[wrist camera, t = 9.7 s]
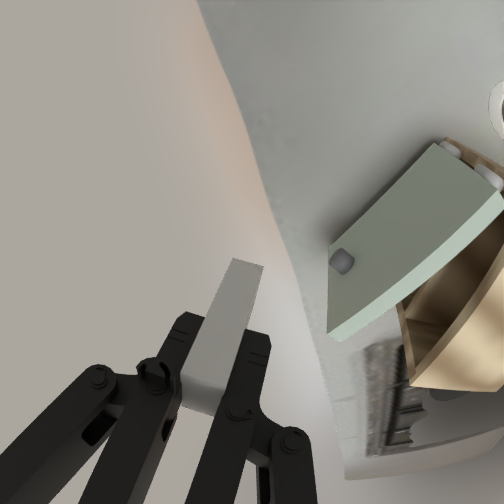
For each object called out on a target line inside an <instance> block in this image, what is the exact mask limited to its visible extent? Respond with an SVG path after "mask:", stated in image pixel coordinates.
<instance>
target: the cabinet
mask: <svg viewBox="0 0 504 504" xmlns="http://www.w3.org/2000/svg"><path fill="white" fill-rule="evenodd" d="M445 141H446V142H448V143H450V144H451V145H453V146H455V147H456V148H458V149H459V150H460V152H461V157H460V158H459V160H460V161H462V162H463V163H465V164H466V165H467V166H469V167H470V168H471V169H473V170H474V168H475V166H476V165H478V164H482V165H484V166H485V167H487V168H488V169H489V170H491V171H492V172H494V173H495V174H496V175H498V176H499V177H500V178H502V180H503V182H504V168H503V167H501V166H500V165H498V164H496V163H495V162H493V161H491V160H490V159H488V158H486V157H484V156H483V155H481V154H479V153H477V152H475V151H473V150H472V149H470V148H468V147H466V146H464V145H462V144H460V143H458V142H456V141H454V140H452V139H450V138H448V137H446V140H445ZM500 194H501V196H502V197H503V199H504V186H503V189H502V191H501V192H500ZM396 308H397V312H398V317H399V322H400V327H401V332H402V338H403V343H404V349H405V355H406V361H407V368H408V375H409V382H410V386H416V387H426V388H436V389H448V390H462V391H485V392H486V391H487V392H496V391H497V390H498V389H499V388H500V387H502V386H503V385H504V210H503V211H502V212H501V213H500V214H499V215H498V216H497V217H496V218H495V219H494V220H493V221H492V222H491V223H490V224H489V225H488V226H487V227H486V228H485V229H484V230H483V231H482V232H481V233H480V234H479V235H478V236H477V237H476V238H475V239H474V240H472V241H471V242H470V243H469V244H468V245H467V246H466V247H465V248H464V249H463V250H462V251H461V252H459V253H458V254H457V255H456V256H455V257H454V258H453V259H452V260H450V261H449V262H448V263H447V264H446V265H445V266H443V267H442V268H441V269H440V270H439V271H438V272H436V273H435V274H434V275H433V276H432V277H430V278H429V279H428V280H427V281H425V282H424V283H423V284H422V285H420V286H419V287H418V288H417V289H415V290H414V291H413V292H412V293H410V294H409V295H408V296H406V297H405V298H404V299H402V300H401V301H400V302H398V303H397V304H396Z"/></svg>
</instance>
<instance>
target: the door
mask: <svg viewBox="0 0 504 504" xmlns="http://www.w3.org/2000/svg"><path fill="white" fill-rule="evenodd" d="M460 157H461V152H460V150H459V149H458V148H456V147H455V146H453V145H451V144H450V143H448V142H446V141H442V142H440V144H439V145H437V144H435V143H433V144H432V145H431V146H430V147H429V148H428V149H427V150H426V151H425V152H424V153H423V154H422V155H421V157H420V158H419V159H418V160H417V161H416V162H415V163H414V164H413V165H412V166H411V167H410V168H409V169H408V170H407V171H406V172H405V173H404V174H403V175H402V176H401V177H400V178H399V179H398V180H397V181H396V182H395V183H394V184H393V186H392V187H391V188H390V189H389V190H388V191H387V192H386V193H385V194H384V195H383V196H382V197H381V198H380V199H379V200H378V201H377V202H376V203H375V204H374V205H373V206H372V207H371V208H369V209H368V210H367V211H366V212H365V213H364V214H363V215H362V216H361V217H360V218H359V219H358V220H357V221H356V222H355V223H354V224H353V225H352V226H351V227H350V228H349V229H348V230H347V231H346V232H345V233H344V234H343V235H342V236H341V237H340V238H338V239H337V240H336V241H335V242H334V243H333V244H332V245H331V246H330V247H329V248H328V310H327V335H328V336H330V337H331V338H333V339H334V340H336V341H337V342H339V343H341V342H342V341H344V340H345V339H347V338H349V337H350V336H352V335H353V334H355V333H356V332H358V331H359V330H361V329H362V328H363V327H365V326H366V325H368V324H369V323H371V322H372V321H374V320H375V319H376V318H378V317H379V316H381V315H382V314H383V313H385V312H386V311H388V310H389V309H390V308H392V307H393V306H394V305H396V304H397V303H398V302H400V301H401V300H402V299H404V298H405V297H406V296H408V295H409V294H410V293H412V292H413V291H414V290H415V289H417V288H418V287H419V286H420V285H422V284H423V283H424V282H425V281H427V280H428V279H429V278H430V277H432V276H433V275H434V274H435V273H436V272H438V271H439V270H440V269H441V268H442V267H443V266H445V265H446V264H447V263H448V262H449V261H450V260H452V259H453V258H454V257H455V256H456V255H457V254H458V253H459V252H461V251H462V250H463V249H464V248H465V247H466V246H467V245H468V244H469V243H470V242H471V241H472V240H474V239H475V238H476V237H477V236H478V235H479V234H480V233H481V232H482V231H483V230H484V229H485V228H486V227H487V226H488V225H489V224H490V223H491V222H492V221H493V220H494V219H495V218H496V217H497V216H498V215H499V214H500V213H501V212H502V211H503V210H504V199H503V197H502V196H501V194H500V192H501V191H502V189H503V186H504V182H503V180H502V178H500V177H499V176H498V175H496V174H495V173H494V172H492V171H491V170H489V169H488V168H487V167H485V166H484V165H482V164H478V165H476V166H475V168H474V170H473V169H471V168H470V167H469V166H467V165H466V164H465V163H463V162H462V161H460V160H459V158H460Z"/></svg>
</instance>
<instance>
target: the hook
mask: <svg viewBox="0 0 504 504" xmlns="http://www.w3.org/2000/svg"><path fill="white" fill-rule="evenodd" d="M503 100H504V81H502V82H499V83H498V84H497V85H496V86H495V87H494V88H493V90H492V92H491V95H490V99H489V115H490V119H491V122H492V125H493V127H494V129H495V131H496V132H497V134H498V135H499V136H500V137H501V138H502V139H504V121H503V118H502V103H503Z"/></svg>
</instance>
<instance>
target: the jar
mask: <svg viewBox="0 0 504 504" xmlns="http://www.w3.org/2000/svg"><path fill="white" fill-rule="evenodd" d="M429 389H430V395H431V397H432V398H433V399H435V400H438V401H448V400H452V399H456V398H459V397H461V396H464V395H465V394H467V393H469V392H470V391H462V390H448V389H436V388H429Z"/></svg>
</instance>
